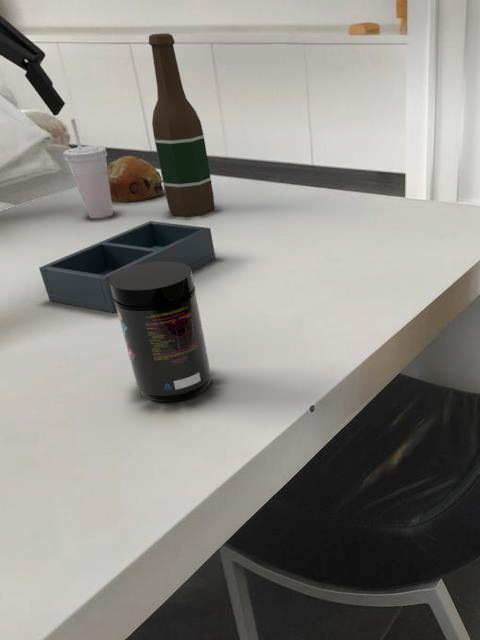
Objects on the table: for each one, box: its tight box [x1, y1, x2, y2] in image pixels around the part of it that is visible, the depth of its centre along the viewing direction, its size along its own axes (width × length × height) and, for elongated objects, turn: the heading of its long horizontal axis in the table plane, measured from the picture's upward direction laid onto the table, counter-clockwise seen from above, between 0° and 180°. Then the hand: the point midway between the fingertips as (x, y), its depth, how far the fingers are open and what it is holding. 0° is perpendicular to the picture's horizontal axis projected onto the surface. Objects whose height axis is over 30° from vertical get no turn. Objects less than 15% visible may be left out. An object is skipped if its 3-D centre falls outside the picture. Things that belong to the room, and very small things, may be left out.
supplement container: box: [109, 261, 212, 403], centre depth 60 cm, size 7×7×10 cm
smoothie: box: [62, 118, 114, 219], centre depth 107 cm, size 6×6×14 cm
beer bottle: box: [148, 32, 216, 218], centre depth 104 cm, size 8×8×24 cm
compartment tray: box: [38, 220, 216, 313], centre depth 85 cm, size 10×19×4 cm, turn 154°
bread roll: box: [107, 155, 164, 203], centre depth 119 cm, size 10×10×8 cm
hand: (24, 117), depth 98 cm, fingers open, 13 cm apart
